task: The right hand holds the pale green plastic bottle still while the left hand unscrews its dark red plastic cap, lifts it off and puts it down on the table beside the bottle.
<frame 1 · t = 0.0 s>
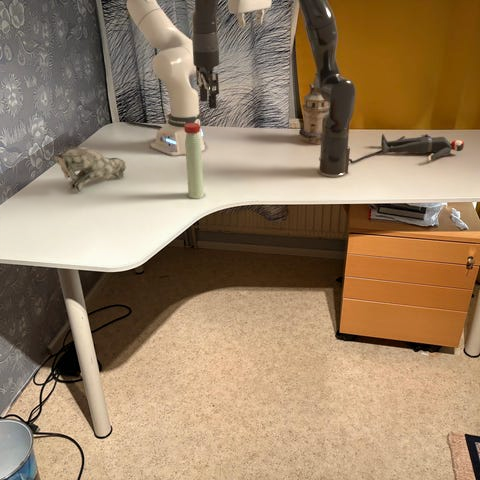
left hand: (250, 25, 175), 48 cm above the table, tool pointing down, fingers open, 8 cm apart
right hand: (208, 104, 162), 29 cm above the table, tool pointing down, fingers open, 8 cm apart
figurine: (94, 184, 184), on the table
cap: (191, 126, 163), point 23 cm above the table, screwed on, not yet turned
miniature building: (315, 140, 221), on the table
bottle: (196, 195, 175), on the table
toy: (420, 153, 206), on the table
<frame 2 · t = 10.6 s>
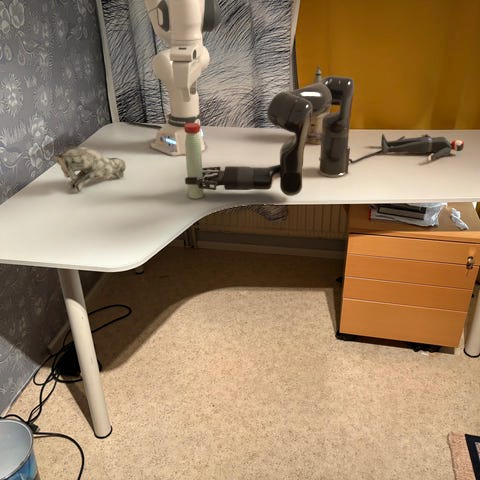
left hand: (190, 97, 159), 32 cm above the table, tool pointing down, fingers open, 7 cm apart
right hand: (186, 177, 172), 6 cm above the table, tool horizontal, fingers closed on bottle, 5 cm apart
bottle: (196, 195, 175), on the table, touching right hand
everything else where it was.
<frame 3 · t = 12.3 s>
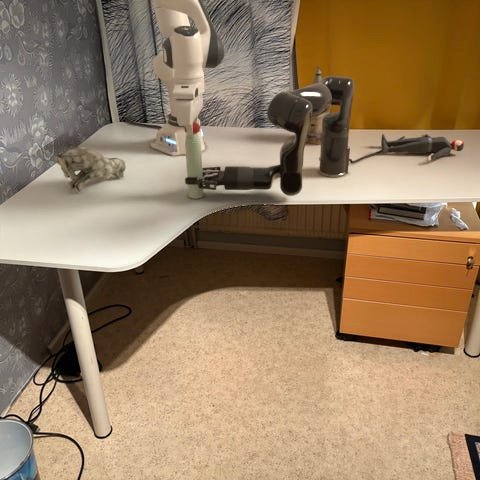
left hand: (192, 131, 164), 21 cm above the table, tool pointing down, fingers closed on cap, 4 cm apart
right hand: (186, 177, 172), 6 cm above the table, tool horizontal, fingers closed on bottle, 5 cm apart
cap: (191, 126, 163), point 23 cm above the table, screwed on, not yet turned, touching left hand
bottle: (196, 195, 175), on the table, touching right hand
everything else where it was.
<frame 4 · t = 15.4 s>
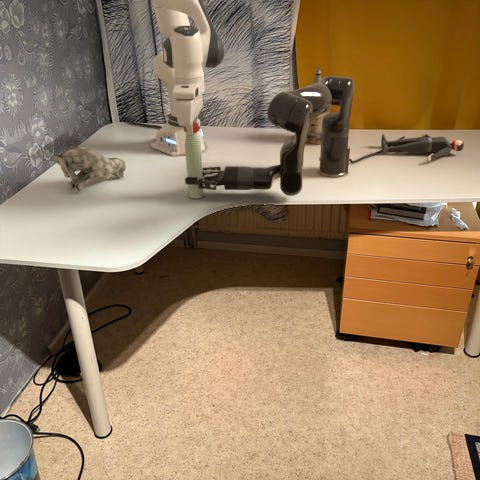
left hand: (192, 131, 164), 22 cm above the table, tool pointing down, fingers closed on cap, 4 cm apart
right hand: (186, 177, 172), 6 cm above the table, tool horizontal, fingers closed on bottle, 5 cm apart
cap: (191, 125, 163), point 23 cm above the table, turned 72° so far, risen 0.1 cm, still on its thread, touching left hand
bottle: (196, 195, 175), on the table, touching right hand
everything else where it was.
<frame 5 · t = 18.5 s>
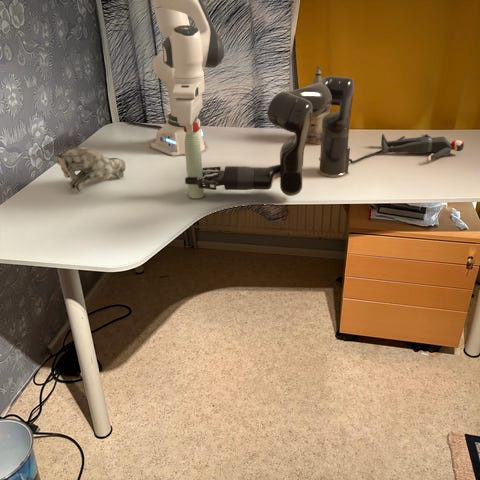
left hand: (192, 131, 164), 22 cm above the table, tool pointing down, fingers closed on cap, 4 cm apart
right hand: (186, 177, 172), 6 cm above the table, tool horizontal, fingers closed on bottle, 5 cm apart
cap: (190, 125, 163), point 23 cm above the table, turned 143° so far, risen 0.2 cm, still on its thread, touching left hand
bottle: (196, 195, 175), on the table, touching right hand
everything else where it was.
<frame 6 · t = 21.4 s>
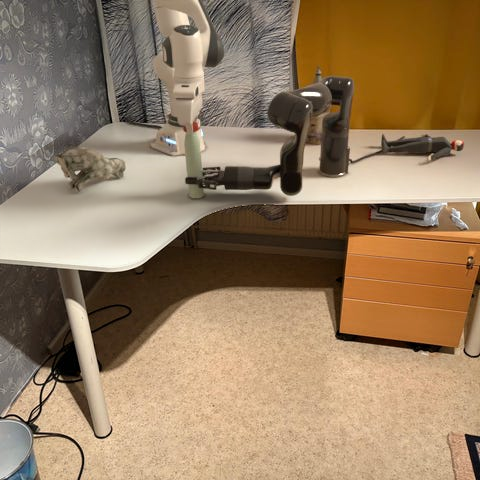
left hand: (192, 131, 164), 22 cm above the table, tool pointing down, fingers closed on cap, 4 cm apart
right hand: (187, 177, 172), 6 cm above the table, tool horizontal, fingers closed on bottle, 5 cm apart
cap: (190, 125, 163), point 24 cm above the table, turned 215° so far, risen 0.2 cm, still on its thread, touching left hand
bottle: (196, 195, 175), on the table, touching right hand
everything else where it was.
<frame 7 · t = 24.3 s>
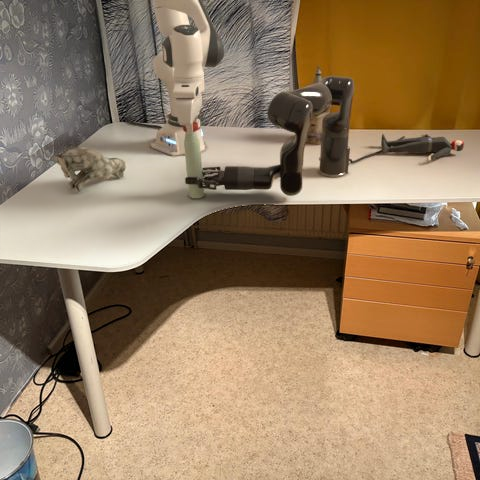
left hand: (192, 130, 164), 22 cm above the table, tool pointing down, fingers closed on cap, 4 cm apart
right hand: (187, 177, 172), 6 cm above the table, tool horizontal, fingers closed on bottle, 5 cm apart
cap: (190, 124, 163), point 24 cm above the table, turned 287° so far, risen 0.3 cm, still on its thread, touching left hand
bottle: (196, 195, 175), on the table, touching right hand
everything else where it was.
when the left hand's fingers open (2 cm above the table, at t = 34.2 s): cap drops 2 cm, point 2 cm above the table.
when the right hand's fingers open (6 cm above the table, at t = 35.3 s): bottle stays where it is, on the table.
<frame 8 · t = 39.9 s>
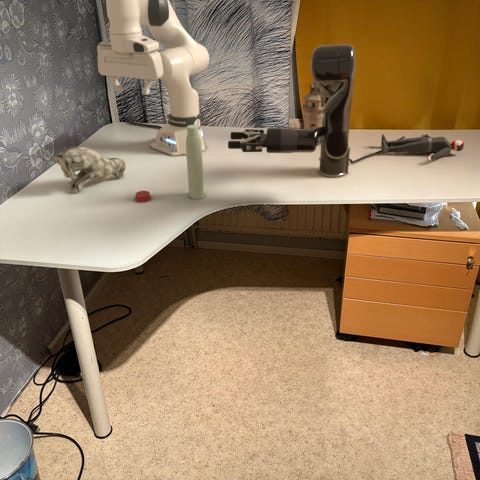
left hand: (132, 92, 157), 34 cm above the table, tool pointing down, fingers open, 8 cm apart
right hand: (229, 140, 165), 19 cm above the table, tool horizontal, fingers open, 8 cm apart
cap: (142, 194, 172), point 2 cm above the table, off its thread
bottle: (196, 195, 175), on the table
everything else where it was.
at the end: cap came off its thread; cap point 1.6 cm above the table; the left hand is holding nothing; the right hand is holding nothing; bottle tilted 0°; bottle moved 0.2 cm from its start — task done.
